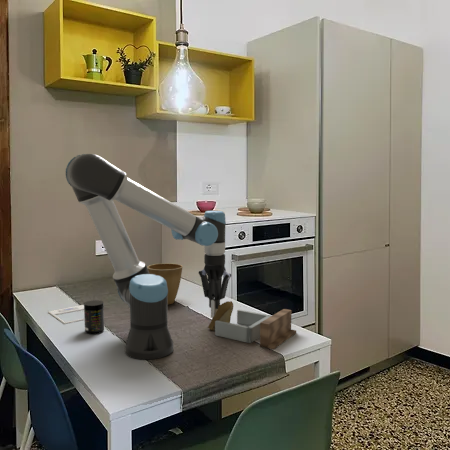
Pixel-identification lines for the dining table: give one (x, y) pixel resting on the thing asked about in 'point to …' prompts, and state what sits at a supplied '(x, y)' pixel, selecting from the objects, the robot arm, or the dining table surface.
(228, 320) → the rock
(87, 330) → the supplement container
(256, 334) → the tray
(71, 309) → the photo frame
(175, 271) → the plant pot
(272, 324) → the wall
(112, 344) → the dining table surface
